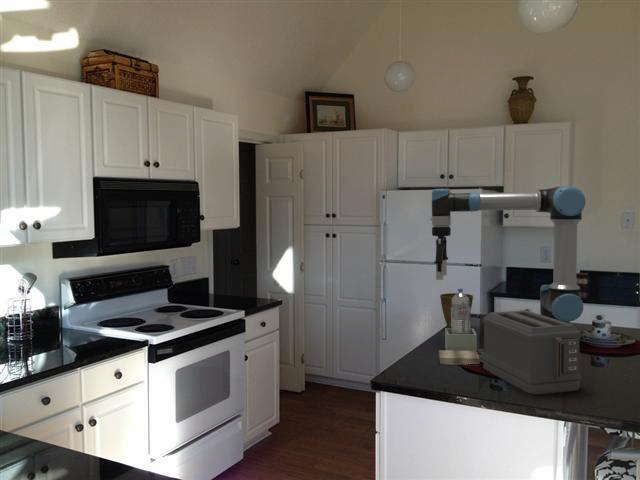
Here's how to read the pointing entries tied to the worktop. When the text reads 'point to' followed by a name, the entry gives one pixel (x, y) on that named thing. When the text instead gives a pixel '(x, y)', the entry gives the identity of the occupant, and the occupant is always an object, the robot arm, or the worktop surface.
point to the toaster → (532, 351)
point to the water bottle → (460, 313)
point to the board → (458, 357)
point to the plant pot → (450, 305)
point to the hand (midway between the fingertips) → (441, 277)
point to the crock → (460, 340)
